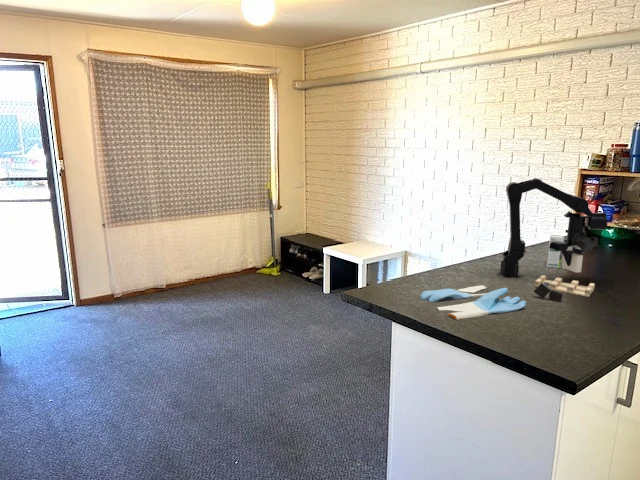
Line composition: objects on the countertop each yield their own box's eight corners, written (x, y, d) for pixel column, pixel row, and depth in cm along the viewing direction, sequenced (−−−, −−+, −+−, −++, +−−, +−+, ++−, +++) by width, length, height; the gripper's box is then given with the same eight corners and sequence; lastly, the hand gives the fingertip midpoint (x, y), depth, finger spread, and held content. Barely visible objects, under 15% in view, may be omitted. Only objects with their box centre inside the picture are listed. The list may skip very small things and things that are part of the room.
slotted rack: (588, 296, 171) (589, 291, 171) (534, 286, 183) (534, 281, 182) (594, 289, 180) (594, 283, 180) (541, 280, 192) (542, 275, 191)
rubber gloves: (410, 296, 173) (411, 279, 172) (482, 287, 184) (483, 271, 183) (456, 321, 148) (457, 302, 147) (535, 309, 159) (537, 291, 158)
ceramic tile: (575, 272, 187) (577, 255, 186) (561, 267, 195) (563, 251, 193) (581, 272, 188) (583, 255, 186) (566, 267, 195) (568, 250, 194)
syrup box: (546, 266, 213) (550, 236, 210) (547, 264, 218) (550, 233, 215) (560, 268, 210) (564, 237, 207) (560, 265, 215) (564, 235, 212)
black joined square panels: (554, 305, 169) (565, 295, 166) (554, 307, 167) (565, 296, 164) (534, 289, 172) (544, 278, 169) (533, 291, 170) (543, 280, 168)
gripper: (570, 232, 178) (565, 272, 181) (611, 231, 182) (606, 269, 185) (550, 227, 189) (546, 264, 192) (590, 226, 192) (585, 262, 196)
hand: (571, 265), depth 191 cm, fingers closed on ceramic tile, 2 cm apart
